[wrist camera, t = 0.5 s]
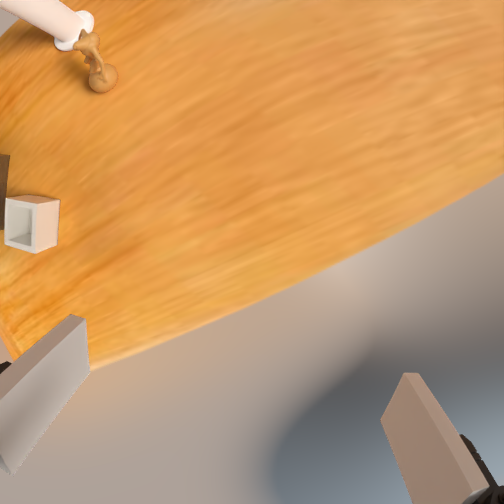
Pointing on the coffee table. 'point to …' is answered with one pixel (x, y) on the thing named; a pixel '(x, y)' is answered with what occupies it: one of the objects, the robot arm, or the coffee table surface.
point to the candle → (52, 19)
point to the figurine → (96, 62)
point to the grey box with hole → (3, 187)
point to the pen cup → (31, 222)
